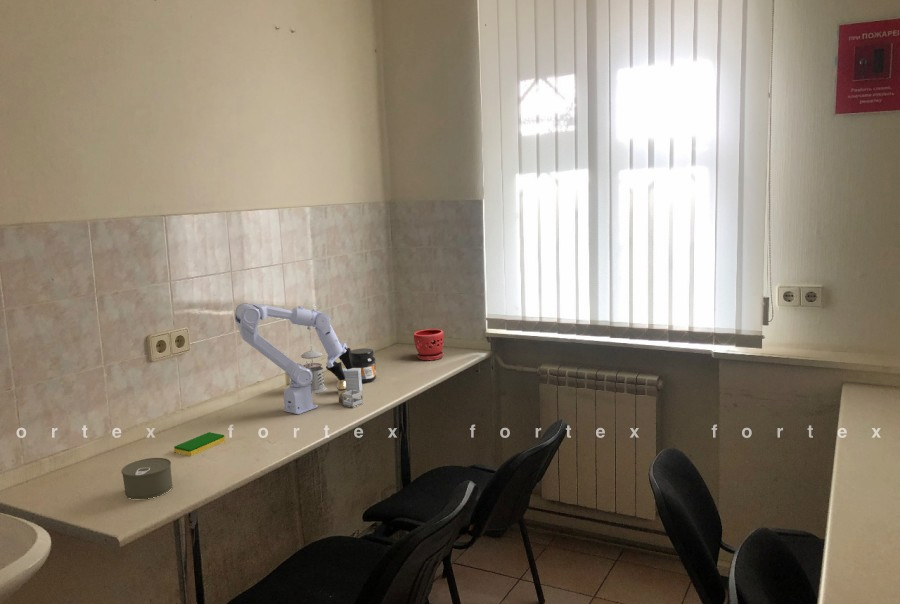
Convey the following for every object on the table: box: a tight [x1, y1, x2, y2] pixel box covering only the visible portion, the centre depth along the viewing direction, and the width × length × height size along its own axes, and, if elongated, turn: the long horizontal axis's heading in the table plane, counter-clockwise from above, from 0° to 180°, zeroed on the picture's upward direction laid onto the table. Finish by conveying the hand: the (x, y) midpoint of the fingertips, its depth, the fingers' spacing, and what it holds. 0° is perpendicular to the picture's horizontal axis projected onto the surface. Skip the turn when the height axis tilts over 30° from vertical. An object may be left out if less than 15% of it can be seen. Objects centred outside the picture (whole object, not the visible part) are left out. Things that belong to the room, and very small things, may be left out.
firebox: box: [342, 390, 364, 408], centre depth 260 cm, size 5×5×4 cm
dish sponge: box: [173, 431, 226, 457], centre depth 224 cm, size 7×14×2 cm, turn 150°
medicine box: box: [342, 367, 363, 392], centre depth 276 cm, size 8×4×9 cm, turn 84°
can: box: [121, 457, 174, 500], centre depth 193 cm, size 12×12×7 cm
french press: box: [300, 326, 328, 394], centre depth 278 cm, size 10×12×25 cm
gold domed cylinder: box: [337, 379, 348, 405], centre depth 263 cm, size 3×3×8 cm
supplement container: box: [351, 347, 377, 384], centre depth 291 cm, size 10×10×12 cm
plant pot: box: [413, 328, 445, 361], centre depth 322 cm, size 13×13×12 cm
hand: (346, 374), depth 265 cm, fingers open, 7 cm apart
